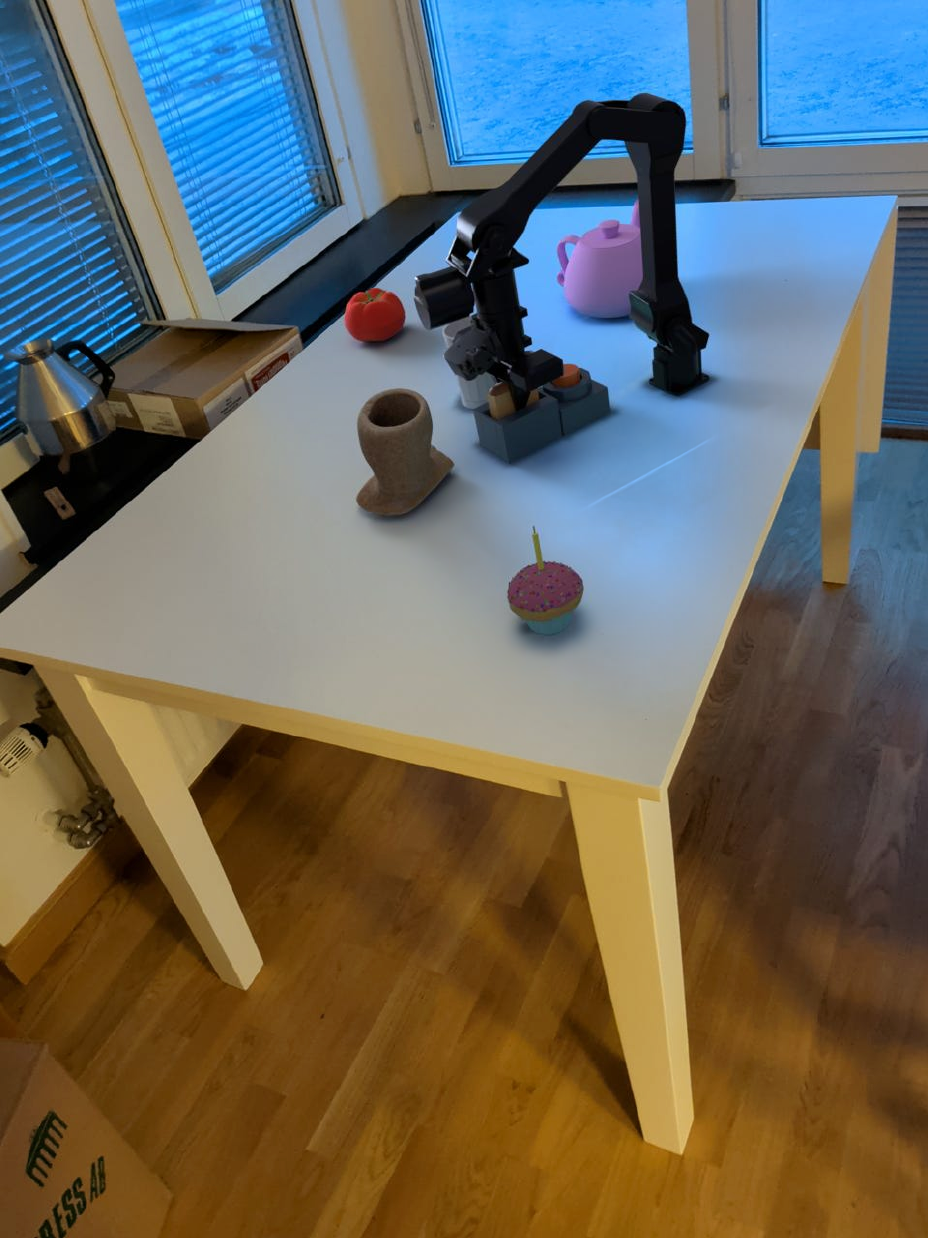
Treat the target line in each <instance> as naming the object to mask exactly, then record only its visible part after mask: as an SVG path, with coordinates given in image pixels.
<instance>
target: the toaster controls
mask: <svg viewBox="0 0 928 1238" xmlns="http://www.w3.org/2000/svg"><path fill="white" fill-rule="evenodd" d="M579 373H580V381H579V382H578V383H576V384H574V385H572V386H568V387H556V386H554V385H553V384H552V381H551V382H549V383H547V384H545V385H543V386H541V387H539V388H537V389H539V390H541V391H543V392H545V393H547V394H548V395H550V396H552V397H554V398H556V399H557V401H558V408H559V415H560V422H561V429H562V437H567V436H569V435H571V434H572V433H574V432H576V431H577V430H580V429H582V428H584V427H585V426H588V425H589V424H592V423H593V422H596V421H598V420H599V419H601V418H604V417H605V416H607V415H609V414H610V413H611V404H610V395H609V394H610V393H609V387H608V386H606V385H604V384H602V383H600V382H598V381H596V380H594V379H592V376H591V373H590V371H589V370H587V369H584V368H583V367H579Z"/></svg>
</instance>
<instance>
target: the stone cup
mask: <svg viewBox="0 0 928 1238" xmlns="http://www.w3.org/2000/svg"><path fill="white" fill-rule="evenodd" d="M357 415H358V416H357V422H356V430H357V437H358V442H359V447H360V450H361V453H362V456H363V457H364V459H365V461H366V463H367V465H368V466H369V467H370V469H371V470H372V472H373V474H374V475H373V476H372V477H371V478H369V479H368V480H367V482H365V484H364V485H363V486H362V488H360V490H359V491H358V493H357V494H356V497H355V502H356V503H357V506H359V507H360V508H361V509H362V510H365V511H367V512H369V513H372V514H374V515H379V516H385V517H387V516H390V517H391V516H401V515H405V514H407V513H409V512H411V511H412V510H414V508H416V507H418V506H419V505H420V504H421V503H422V502H423V501H424V500H425V499H426V498H428V496H430V494H431V493H432V492H433V491H434V490H435V488H436V487H438V486H439V484H440V483H441V482H442V481H443V480H444V478H445V477H446V476H447V475H448V474H449V473H450V472H451V471H452V469H453V468H454V467H455V462H454V461H453V460H452V459H451V458H450V456H448V455H446V454H444V453H443V452H442V451H440V450H438V449H437V448H436V447H435V445H433V444H432V441H433V440H432V439H433V433H434V420H433V416H432V415H433V414H432V412H431V408H430V405H429V404H428V401H427V400H426V399H425V398H424V397H423V395H422V394H420V393H419V392H417V391H415V390H414V389H413V390H412V389H409V388H402V387H400V388H398V387H396V388H389V389H385V390H382V391H380V392H378V393H376V394H374V395H372V396H371V397H370V398H368V399H367V401H366V402H365V403H364V405H363V406H362V408H360V411H359V413H358V414H357Z"/></svg>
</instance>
